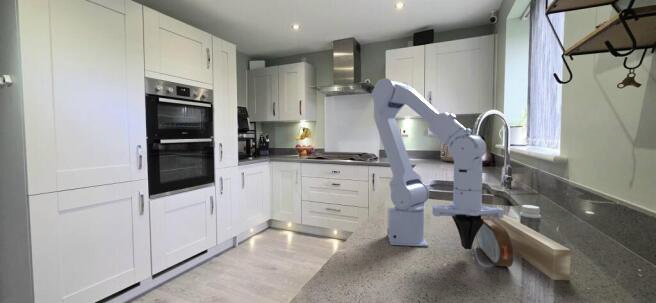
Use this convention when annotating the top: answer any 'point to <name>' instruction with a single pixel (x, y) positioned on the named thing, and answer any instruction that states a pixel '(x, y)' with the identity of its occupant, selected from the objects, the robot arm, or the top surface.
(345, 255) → the top surface
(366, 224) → the top surface
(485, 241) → the tin
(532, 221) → the pill bottle
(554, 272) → the board
